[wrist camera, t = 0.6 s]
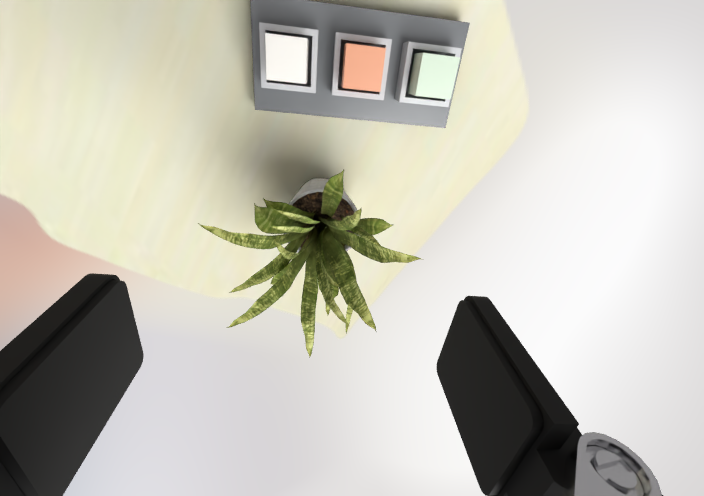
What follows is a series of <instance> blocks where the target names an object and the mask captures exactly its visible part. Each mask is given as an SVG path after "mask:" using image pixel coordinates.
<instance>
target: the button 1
mask: <svg viewBox="0 0 704 496" xmlns="http://www.w3.org/2000/svg"><path fill="white" fill-rule="evenodd" d="M308 42H309V40H308V39H307V38H301V37H293V36H285V35H277V34H269V33H265V43H266V80H274V81H283V82H292V83H302V84H306V83H307V75H308Z"/></svg>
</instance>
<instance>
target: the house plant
mask: <svg viewBox="0 0 704 496" xmlns="http://www.w3.org/2000/svg"><path fill="white" fill-rule="evenodd" d="M343 172H344V170H343V171H342V172H341V173H339V174H337V175H335V176H333V177H331V178H330V179H327V178H315V179H311V180H309V181H307V182H306V183H305V184H304V185H303V186H302V187H301V188H300V190H299V191H298V192H297V194H296V195H295V196H294V198H293V199H292V200H291V202H290V203H289V204H287V203H282V202H272V201H267V200H265V199H263V200H264V201H265V203H266V206H267V207H258V206H256V205H255V223H256V225H257V226H258V228H259V229H260V230H261V231H262V232H265V233H270V234H283V235H275V236H263V235H256V234H245V233H232V232H228V231H225V230H222V229H219V228H216V227H211V226H203V225H201V226H202V227H203V228H205V229H206V230H208V231H210V232H211V233H213V234H215V235H216V236H218V237H220V238H222V239H224V240H227V241H229V242H231V243H234V244H237V245H240V246H244V247H249V248H256V249H271V248H274V247H277V248H278V250H279V252H280V254H279V255H278V256H277V257H276V258H275V259H274V260H273V261H271V262H270V263H269V264H268V265H267V266H265V267H264V268H263V269H261V270H260V271H258V272H257V273H255V274H254V275H253V276H251V277H250V278H249V279H248V280H247V281H246V282H245V283H243V284H242V285H240V286H238V287H236V288H234V289H233V290H232V291H231V292H235V291H240V290H243V289H246V288H248V287H251V286H253V285H257V284H260V283H262V282H265V281H267V280H269V279H270V278H272V277H273V276H274V277H273V279H272V281H271V284H273V286H272V287H271V288H270V289H269V290H268V291H267V292H266V293H265V294H264V295H262V296H261V297H260V298H259V299H258V300H257V301H256V302H255V303H254V304H253V306H252V307H251V308H250V309H249V310H248V311H247V312H246V313H245V314H243V315H242V316H240V317H239V318H237V319H236V320H234V321H233V323H232V324H231V325H230V326H229V327H232V326H235V325H238V324H241V323H244V322H246V321H248V320H250V319H252V318H254V317H255V316H257V315H259V314H260V313H262V312H263V311H264V310H266V309H267V308H268V307H270V306H271V305H272V304H273V303H275V302H276V301H277V300H278V299H279V298H280V297H281V296H283V294H284V293H285V292H286V291H287V290H288V289H289V288H290V286H291V285H292V283H293V281H294V279H295V277H296V276H297V274H298V273H299V271H300V269H301V268H302V266H303V265H304V263H305V261H306V269H305V280H304V286H303V294H302V303H301V323H302V327H303V331H304V334H305V340H306V349H307V351H308V354H309V356H311V353H312V348H313V343H314V332H315V308H316V301H317V294H318V285H319V289H320V290H321V292H322V295H323V297H324V299H325V302H326V312H327V314H329V311H330V308H331V309H332V311H333V312H334V313H335V314H336V315H337V317H338V318H339V319H341V320H342V321H343V322H345V323H346V333H347V329H348V326H349V323H350V318H351V314H352V311H353V310H354V311H355V312H357V313H358V314H359V316H360V317H361V318H362V320H363V321H364V322H365V323H366V324H367V325H369V326H370V327H372V328H374V329H375V330H376V327H375V324H374V322H373V319H372V316H371V313H370V311H369V309H368V307H367V304H366V302H365V299H364V297H363V295H362V293H361V291H360V289H359V286H358V284H357V281H356V275H355V271H354V267H353V264H352V261H351V259H350V257H349V255H348V253H347V251H348V250H349V249H350V248H353V249H354V250H356V251H357V252H359V253H361V254H362V255H364V256H366V257H368V258H370V259H373V260H375V261H378V262H381V263H388V262H404V263H409V262H412V261H414V260H418V259H421V258H418V257H415V256H411V255H407V254H403V253H400V252H397V251H393V250H390V249H387V248H384V247H382V246H381V245H380V244H379V243H378V242H377V240H376V239H375V238H374V237H373V236H372V235H375V234H378V233H380V232H382V231H384V230H386V229H387V228H389V227H391V226H392V225H390V224H389V223H387V222H386V221H384V220H382V219H377V218H365V219H360V216H361V209H360V210H357V208H356V207H355V205H354V203H353V202H352V201H351V199H350V198H349V197H348V195H347V194H346V192H345V191H344V190H343ZM254 204H255V203H254ZM198 224H199V223H198ZM199 225H200V224H199ZM285 243H289V244H288V245H287V246H286V247H285V248H283V247H282V246H281V245H282V244H285ZM296 252H298V253H296ZM290 260H292V261H291V262H290ZM289 262H290V263H289ZM288 263H289V264H288ZM276 274H277V275H276ZM317 279H318V281H317ZM338 287H339V288H338ZM339 289H340V291H341V294H342V296H343V298H344V300H345V302H346V304H347V305H348V308H347V314H346V319H345V318H344V316H343V314H342V312H341V311H340V309H339V307H338V306H337V304H336V303H335V301H334V298H335V297H336V296H337V295H338V292H339Z"/></svg>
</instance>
